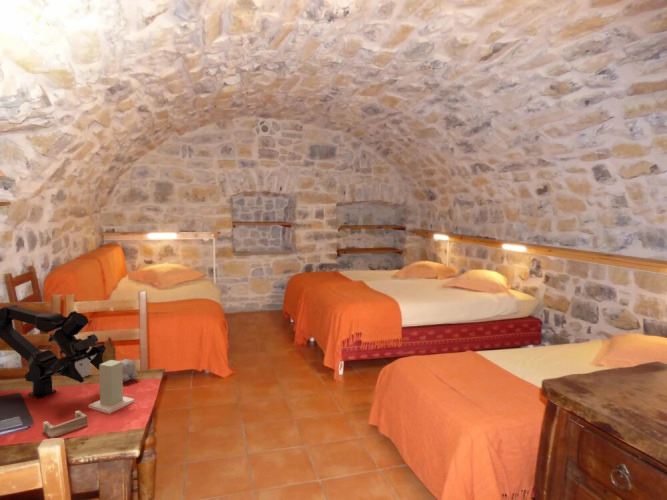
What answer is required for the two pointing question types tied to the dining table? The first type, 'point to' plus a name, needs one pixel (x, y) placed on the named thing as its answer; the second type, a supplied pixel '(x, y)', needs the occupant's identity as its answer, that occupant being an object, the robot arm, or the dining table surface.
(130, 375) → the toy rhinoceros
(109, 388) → the sage block
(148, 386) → the dining table surface
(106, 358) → the stone tool
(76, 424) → the birch stall
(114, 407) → the ceramic tile
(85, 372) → the skincare box
